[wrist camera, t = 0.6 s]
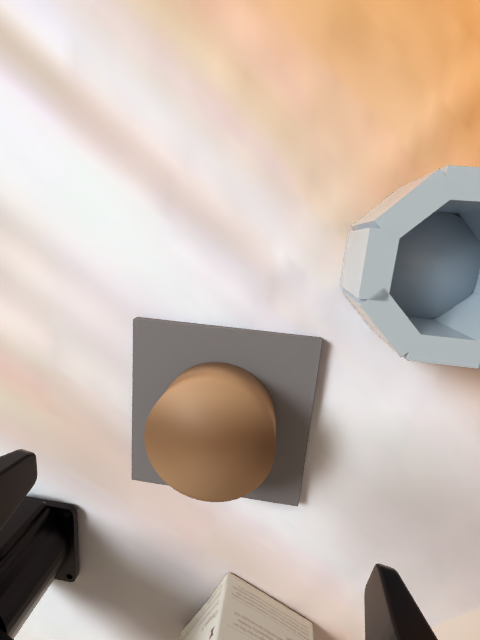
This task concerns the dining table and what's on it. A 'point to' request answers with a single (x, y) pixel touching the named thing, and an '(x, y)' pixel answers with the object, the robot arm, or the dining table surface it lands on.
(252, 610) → the supplement box
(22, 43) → the dining table surface
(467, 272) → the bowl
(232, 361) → the mat
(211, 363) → the tan rounded dome
